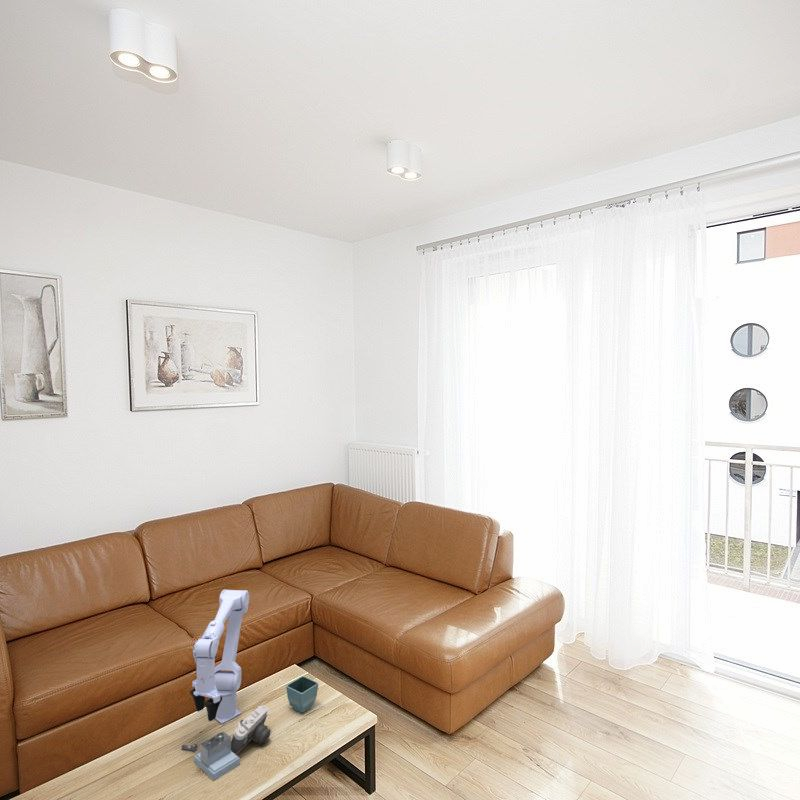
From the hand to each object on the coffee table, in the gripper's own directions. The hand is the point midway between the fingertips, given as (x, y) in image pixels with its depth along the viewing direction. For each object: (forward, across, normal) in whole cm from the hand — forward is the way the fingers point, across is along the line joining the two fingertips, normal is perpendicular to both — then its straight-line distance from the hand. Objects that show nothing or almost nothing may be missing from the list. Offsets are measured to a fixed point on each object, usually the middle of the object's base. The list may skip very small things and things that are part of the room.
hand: (206, 714), depth 171 cm
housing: (+8, +10, -2) cm, 13 cm away
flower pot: (+11, +9, +34) cm, 37 cm away
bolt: (+10, -3, -5) cm, 12 cm away
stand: (+10, +10, -2) cm, 15 cm away
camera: (+11, +11, +11) cm, 19 cm away
